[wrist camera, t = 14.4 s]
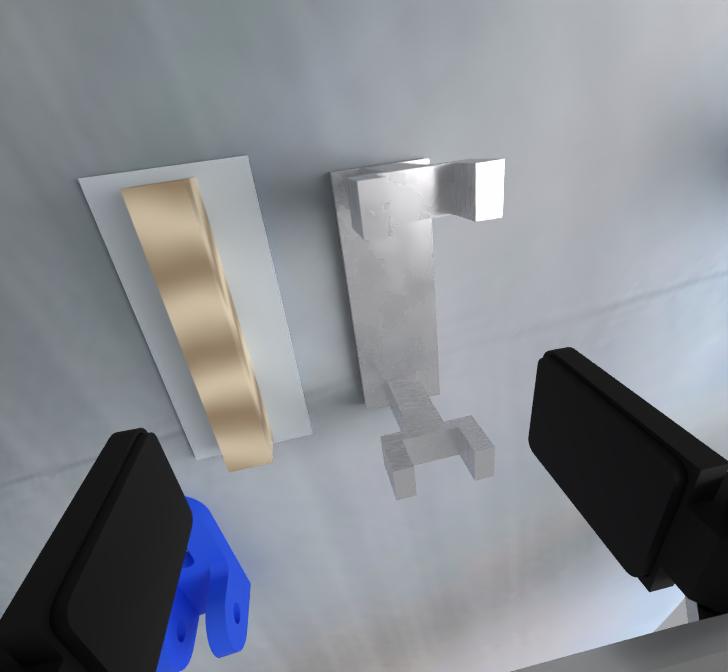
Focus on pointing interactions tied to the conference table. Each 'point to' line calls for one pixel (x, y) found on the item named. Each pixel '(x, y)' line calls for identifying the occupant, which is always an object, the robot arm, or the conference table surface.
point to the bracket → (206, 596)
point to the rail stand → (408, 299)
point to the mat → (245, 280)
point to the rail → (202, 315)
